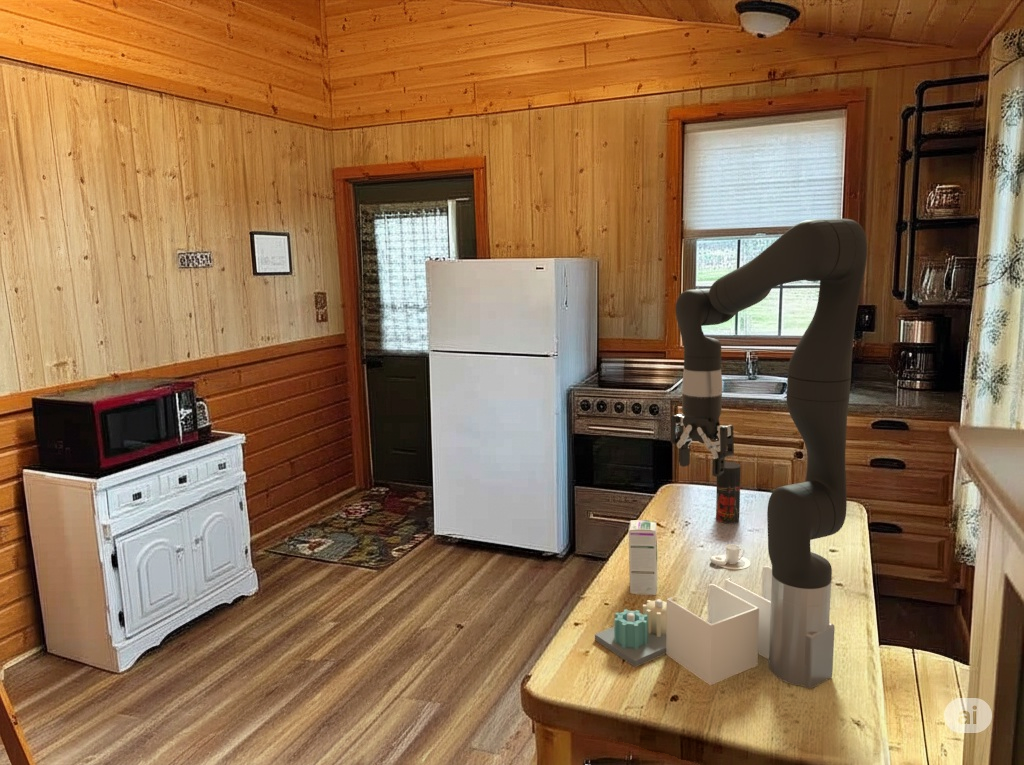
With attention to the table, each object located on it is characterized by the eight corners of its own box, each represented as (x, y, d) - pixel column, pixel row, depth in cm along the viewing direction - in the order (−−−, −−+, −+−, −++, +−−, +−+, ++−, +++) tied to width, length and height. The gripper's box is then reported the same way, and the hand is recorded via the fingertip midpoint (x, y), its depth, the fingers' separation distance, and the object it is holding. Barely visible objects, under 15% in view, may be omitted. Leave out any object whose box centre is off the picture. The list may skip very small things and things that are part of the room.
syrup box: (657, 595, 152) (657, 530, 149) (628, 594, 153) (628, 529, 150) (657, 583, 157) (657, 520, 155) (629, 581, 159) (629, 519, 156)
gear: (654, 641, 132) (654, 619, 131) (629, 652, 129) (629, 629, 128) (632, 628, 137) (632, 606, 136) (608, 638, 134) (607, 615, 133)
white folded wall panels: (710, 686, 121) (711, 625, 119) (666, 655, 130) (666, 598, 128) (812, 643, 132) (814, 587, 130) (765, 617, 142) (766, 565, 140)
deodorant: (711, 517, 194) (712, 463, 191) (730, 514, 196) (732, 460, 193) (724, 524, 189) (725, 469, 186) (743, 521, 190) (745, 466, 188)
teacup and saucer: (709, 568, 165) (709, 552, 164) (711, 554, 172) (712, 538, 171) (750, 573, 162) (750, 555, 161) (750, 558, 169) (751, 542, 168)
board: (693, 641, 134) (693, 607, 133) (635, 667, 126) (634, 631, 125) (651, 617, 143) (651, 585, 142) (594, 640, 136) (594, 606, 134)
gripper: (744, 394, 138) (741, 475, 141) (687, 383, 150) (686, 459, 153) (717, 399, 134) (715, 483, 137) (661, 388, 146) (661, 466, 149)
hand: (700, 470), depth 145 cm, fingers open, 8 cm apart
